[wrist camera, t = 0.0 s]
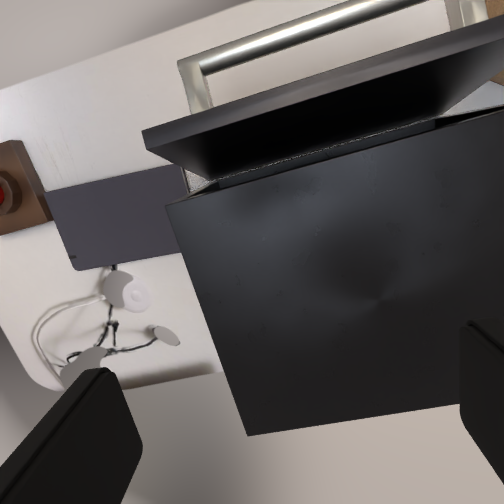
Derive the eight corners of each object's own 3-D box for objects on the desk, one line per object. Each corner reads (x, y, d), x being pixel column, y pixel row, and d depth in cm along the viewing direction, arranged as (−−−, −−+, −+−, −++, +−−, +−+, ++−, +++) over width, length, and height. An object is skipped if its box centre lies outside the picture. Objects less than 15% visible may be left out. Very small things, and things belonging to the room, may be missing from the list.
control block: (-36, 159, 47) (-63, 160, 44) (21, 140, 46) (-2, 139, 42) (3, 234, 51) (-19, 241, 47) (57, 218, 49) (39, 224, 45)
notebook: (182, 162, 45) (50, 191, 48) (179, 162, 44) (42, 193, 47) (204, 245, 49) (80, 268, 52) (202, 248, 47) (74, 271, 50)
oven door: (195, 129, 45) (121, 58, 26) (429, 56, 40) (557, -100, 21) (209, 180, 45) (146, 149, 26) (442, 114, 41) (578, 15, 21)
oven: (210, 182, 46) (163, 205, 27) (441, 116, 41) (583, 88, 22) (257, 334, 53) (247, 436, 34) (458, 293, 48) (576, 386, 29)
